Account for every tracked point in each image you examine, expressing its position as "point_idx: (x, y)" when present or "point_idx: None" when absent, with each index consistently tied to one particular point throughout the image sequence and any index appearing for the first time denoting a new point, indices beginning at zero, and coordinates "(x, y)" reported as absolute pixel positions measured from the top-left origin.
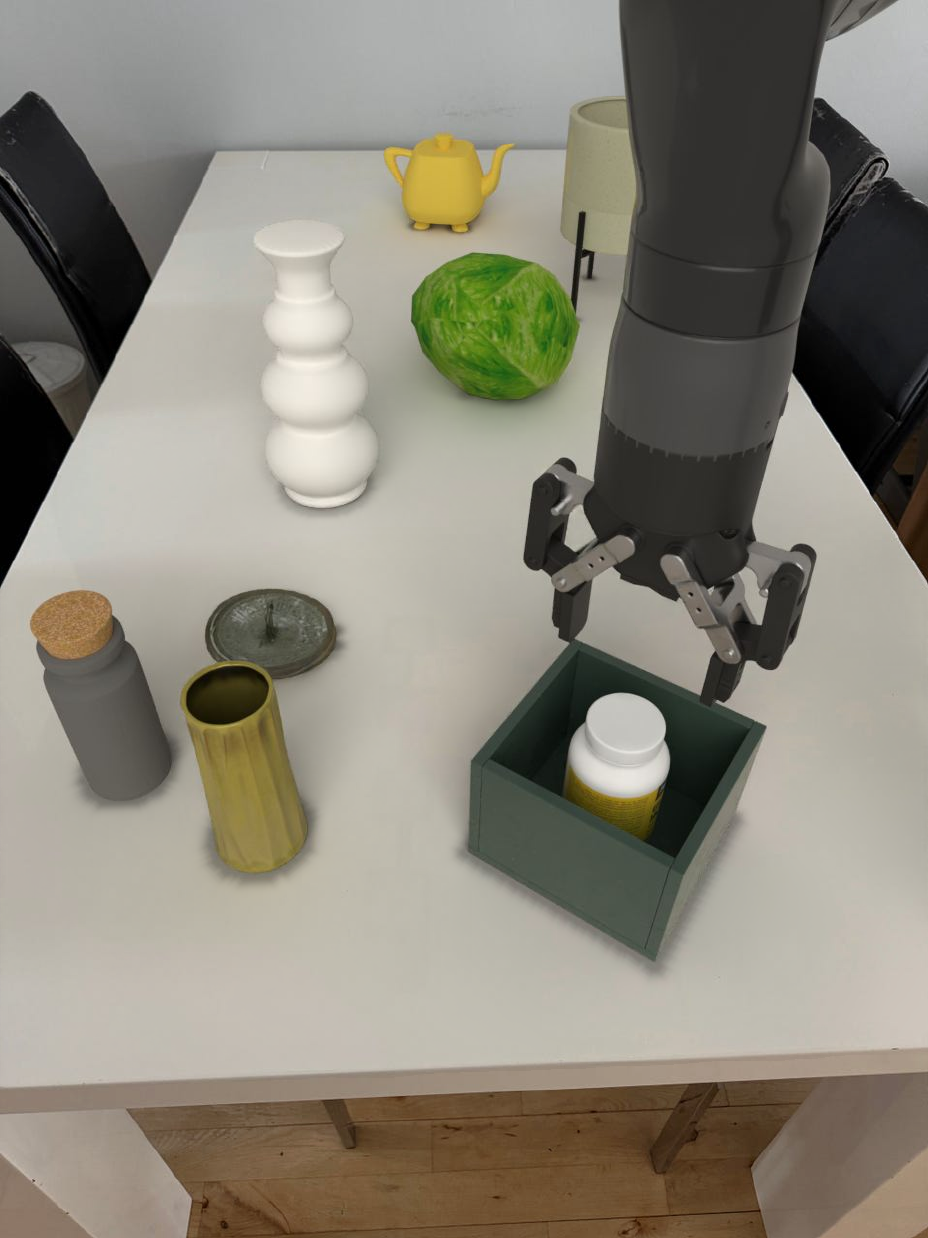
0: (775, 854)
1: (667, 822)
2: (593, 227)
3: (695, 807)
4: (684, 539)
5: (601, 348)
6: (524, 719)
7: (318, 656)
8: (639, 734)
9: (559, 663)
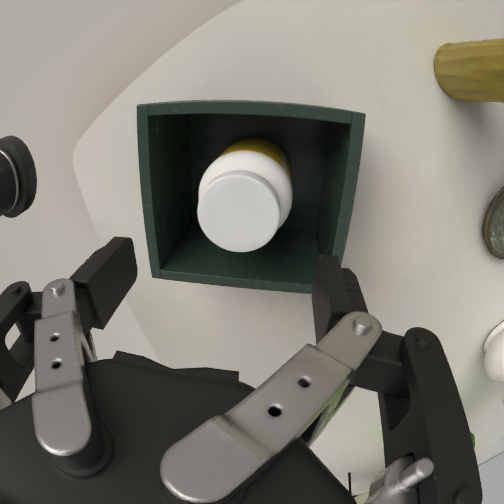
0: None
1: None
2: None
3: None
4: (62, 483)
5: (376, 453)
6: (341, 189)
7: (490, 215)
8: (218, 207)
9: None
